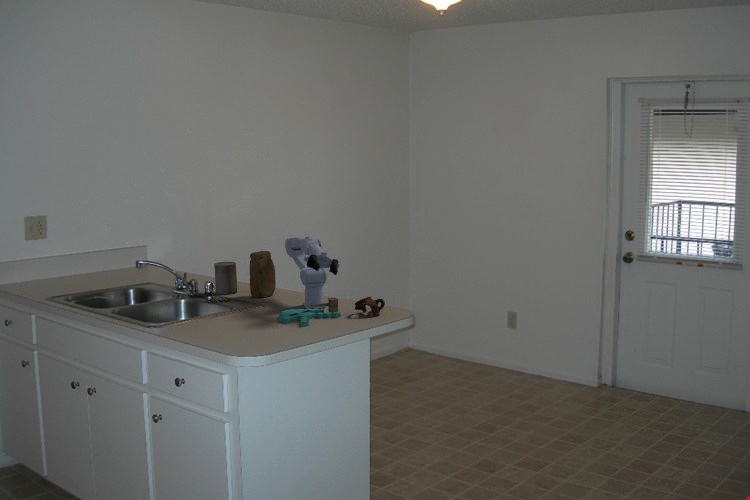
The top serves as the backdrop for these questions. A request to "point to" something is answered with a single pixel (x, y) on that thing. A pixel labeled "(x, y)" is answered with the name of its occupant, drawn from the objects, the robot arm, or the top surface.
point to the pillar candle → (225, 278)
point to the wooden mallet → (331, 305)
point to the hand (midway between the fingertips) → (327, 270)
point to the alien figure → (305, 315)
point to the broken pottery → (373, 305)
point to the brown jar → (262, 274)
